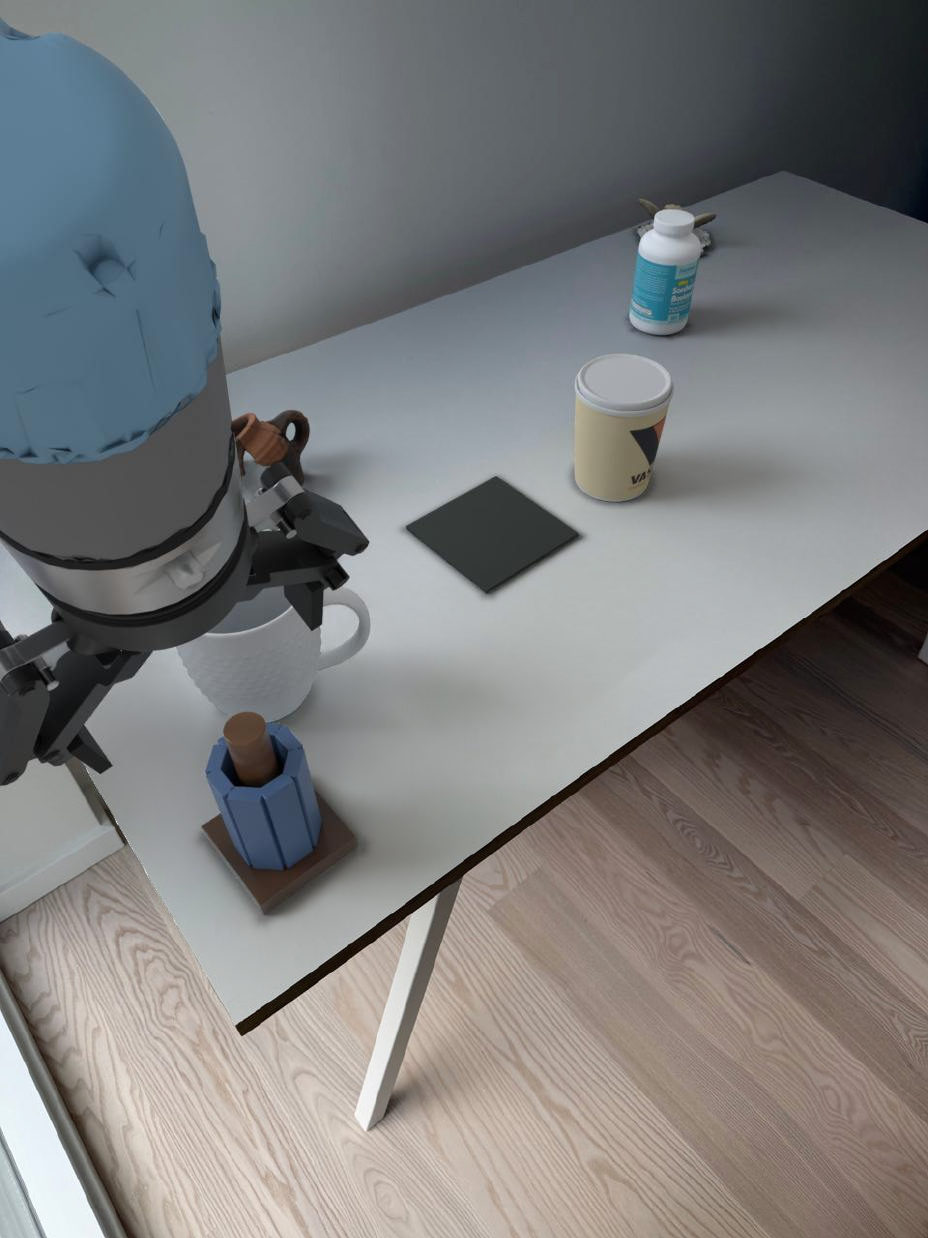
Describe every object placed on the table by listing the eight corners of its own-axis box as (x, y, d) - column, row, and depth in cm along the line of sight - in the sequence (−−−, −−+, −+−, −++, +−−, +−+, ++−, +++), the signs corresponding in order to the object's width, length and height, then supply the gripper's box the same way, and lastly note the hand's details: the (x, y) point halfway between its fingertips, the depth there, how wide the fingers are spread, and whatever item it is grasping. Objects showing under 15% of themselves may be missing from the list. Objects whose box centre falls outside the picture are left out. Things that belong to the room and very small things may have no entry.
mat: (405, 528, 88) (405, 525, 88) (496, 478, 93) (496, 475, 93) (486, 594, 82) (486, 590, 82) (578, 536, 87) (578, 533, 87)
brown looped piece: (266, 529, 89) (212, 466, 84) (229, 520, 96) (177, 462, 92) (346, 449, 93) (297, 385, 88) (304, 446, 100) (257, 387, 96)
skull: (730, 247, 129) (730, 191, 122) (676, 283, 128) (673, 228, 121) (675, 217, 136) (672, 162, 129) (623, 251, 135) (617, 197, 127)
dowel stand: (205, 836, 65) (154, 722, 55) (297, 775, 69) (265, 657, 58) (263, 915, 61) (220, 808, 51) (358, 846, 65) (335, 732, 54)
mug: (365, 623, 79) (350, 511, 70) (389, 720, 72) (375, 609, 63) (195, 656, 77) (155, 544, 67) (202, 760, 70) (158, 650, 60)
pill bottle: (674, 343, 111) (693, 235, 101) (619, 328, 114) (632, 222, 104) (695, 317, 116) (715, 211, 106) (641, 303, 118) (656, 199, 108)
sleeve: (219, 827, 64) (190, 756, 57) (290, 780, 67) (269, 707, 60) (264, 886, 61) (238, 818, 54) (336, 834, 64) (320, 763, 57)
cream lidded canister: (641, 517, 89) (659, 415, 80) (553, 493, 92) (561, 391, 83) (667, 464, 95) (686, 363, 86) (584, 443, 97) (594, 343, 88)
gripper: (-184, 841, 25) (32, 875, 45) (484, 419, 33) (418, 606, 53) (-312, 637, 26) (-46, 758, 46) (363, 276, 34) (343, 511, 54)
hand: (202, 677), depth 50 cm, fingers open, 13 cm apart
